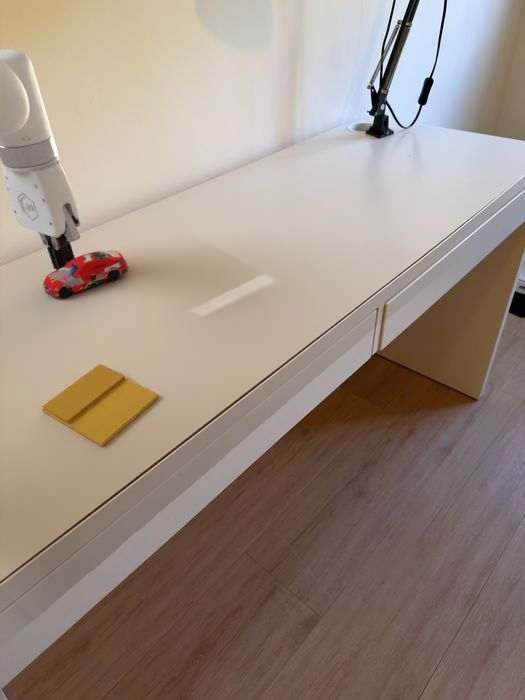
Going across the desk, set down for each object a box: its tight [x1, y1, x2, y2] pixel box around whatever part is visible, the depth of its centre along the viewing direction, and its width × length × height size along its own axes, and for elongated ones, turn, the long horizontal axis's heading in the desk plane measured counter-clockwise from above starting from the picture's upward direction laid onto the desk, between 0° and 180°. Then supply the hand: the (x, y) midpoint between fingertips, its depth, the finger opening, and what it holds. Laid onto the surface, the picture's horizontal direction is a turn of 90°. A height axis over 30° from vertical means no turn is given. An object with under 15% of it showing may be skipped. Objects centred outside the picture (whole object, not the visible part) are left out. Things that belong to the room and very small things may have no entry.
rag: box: [41, 363, 160, 448], centre depth 61 cm, size 9×10×1 cm
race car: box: [42, 250, 129, 299], centre depth 82 cm, size 13×5×4 cm, turn 123°
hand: (65, 266), depth 85 cm, fingers closed
